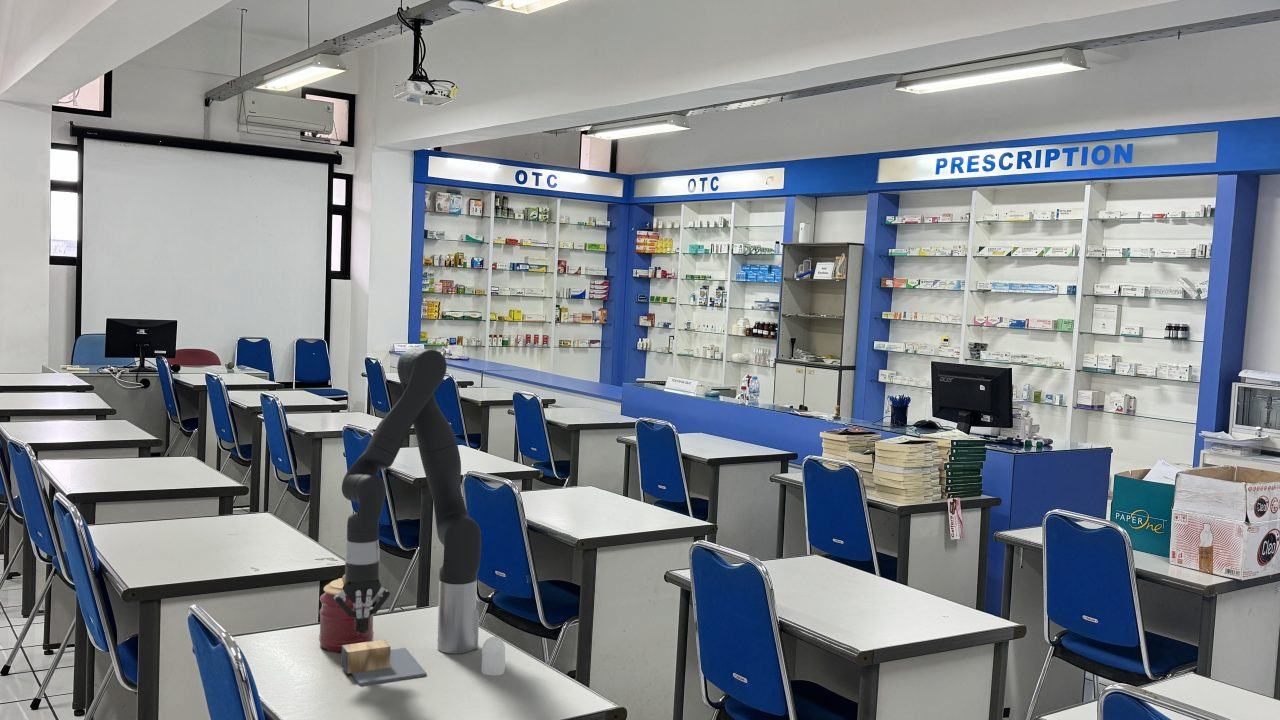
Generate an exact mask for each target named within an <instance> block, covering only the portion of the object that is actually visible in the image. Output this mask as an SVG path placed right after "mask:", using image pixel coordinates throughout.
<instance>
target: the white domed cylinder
mask: <svg viewBox="0 0 1280 720" xmlns="http://www.w3.org/2000/svg"><path fill="white" fill-rule="evenodd" d="M505 663H506V646H505V643H504V641H503V640H502V639H501V638H499V637H497V636H492V637H489V638H487V639H486V640H485V641H484V643H483V645H482V648H481V673H482V674H483V675H487V676H499V675H502V674H504V673H505V669H506V668H505V667H506V666H505V665H506V664H505Z"/></svg>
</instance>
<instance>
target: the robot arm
mask: <svg viewBox="0 0 1280 720" xmlns="http://www.w3.org/2000/svg"><path fill="white" fill-rule="evenodd" d="M396 369H397V376H398V379H399V382H400V385H401V387H402V391H403V394H402V396H401V397H400V398H399V399H398V401H397V402H396V403H395V404H394V405H393V407H392V408H391V409H390V410H389V411H388V413H386V414H385V416H384V417H382V419H381V421H380V422H379V423H378V425H377V427H376V428H375V430H374V432H373V434H372V435H371V437H370V439H369V441H368V444H367V445H366V448H365V450H364V451H363V452H362V453H361V455H360V456H359V457H358V458H357V459H356V461H355V462H354V463H353V464H352V465H351V467H350V468H349V469H348V470H347V472H346V474H345V475H344V477H343V480H342V483H341V493H342V495H343V496H344V498H345V499H346V500H348V501H351V502H354V503H357V504H358V508H357V511H356V512H354V513H352V514H350V515H349V516H348V518H347V523H346V524H347V525H346V544H345V545H346V546H345V559H344V560H345V564H344V565H345V568H344V569H345V570H344V573H345V584H344V586H343V590H342V591H341V592H340V593H339V594H335V595H334V599H335V600H336V602H337V603H338V604H339V605H340V606H341V607H342V609H343V610H344V611H345V612H346V613H347V614H348V615H349V616H350V617H355V630H356V631H357V632H358V633H359V634H363V633H366V631H367V630H368V623H369V616H370V615H372V614H373V615H376V614H377V612H378V611H379V610H380V609H381V607H382V606H383V605H384V603H385V602H386V601H387V600H388V598H389V596H390V594H391V592H390V591H389V590H388V589H387V588H384V587H382V584H381V581H380V557H381V554H380V543H379V542H380V541H379V537H380V534H379V533H380V531H379V529H380V525H379V521H380V519H381V516H382V512H383V508H384V505H385V501H386V496H387V495H386V494H387V489H386V488H387V487H386V484H385V481H384V480H383V478H382V477H381V476H379V475H377V474H378V473H379V471H381V470H384V469H388V468H391V466H393V463H394V462H395V460H396V458H397V456H398V453H399V452H400V449H401V447H402V446H403V443H404V442H405V439H406V437H407V436H408V434H409V432H410V430H411V428H412V426H413V429H414V433H415V436H416V442H417V445H418V451H419V455H420V459H421V465H422V468H423V471H424V475H425V479H426V481H427V484H428V485H427V486H428V488H429V490H430V495H431V498H432V503H433V510H434V517H435V525H436V527H435V528H436V532H437V538H438V540H439V542H440V543H441V544H442V546H443V560H442V561H443V563H442V566H441V567H440V568H439V571H438V574H439V575H438V576H439V577H438V579H439V580H438V608H437V609H438V612H437V613H438V615H437V617H438V618H437V640H436V641H437V649H438V650H439V651H440V652H443V653H447V654H464V653H468V652H471V651H473V650H477V649H478V648H479V625H480V622H479V620H480V612H479V611H480V610H478V609H477V599H478V597H477V595H478V593H477V592H478V589H477V588H478V572H479V570H480V565H481V555H482V554H481V553H482V531H481V528H480V525H479V524H478V523H477V522H476V521H475V520H474V519H473V518H471V517H470V515H469V513H468V511H467V508H466V504H465V501H464V498H463V494H462V487H461V483H462V482H461V479H462V478H461V477H462V460H461V459H462V458H461V453H460V451H459V445H458V441H457V438H456V435H455V432H454V430H453V428H452V426H451V425H450V422H449V421H448V419H447V418H446V417H445V415H444V414H443V412H442V410H441V409H440V407H439V404H438V402H437V399H436V397H435V392H436V391H437V389H438V388H439V386H440V385H441V383H442V382H443V379H444V378H445V376H446V373H447V360H446V358H445V356H444V355H443V354H442V352H440V351H439V350H436V349H432V348H412V349H407V350H405V351H404V352H403V353H402V354H401V355H400V357H398V361H397V367H396ZM345 595H347V596H348V597H349V599H350V600H351V601H352V602H353V606H354V610H352V609H350V608H349V606H348V605H347V604H346V603H345V602H344V601H345V600H346V598H345ZM376 596H377V597H376ZM375 597H376V598H375ZM373 598H374V599H375V600H374V599H373ZM373 600H374V601H373ZM371 601H372V605H371ZM361 603H362V604H361ZM361 608H362V611H361Z"/></svg>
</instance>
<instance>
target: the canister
mask: <svg viewBox="0 0 1280 720" xmlns="http://www.w3.org/2000/svg"><path fill="white" fill-rule="evenodd" d="M344 584H345V574H343V576H342V578H339V579H334V580H332V581H331V582H329V583H328V584H326V585H325V586H324V587H323V591H324V593H323V594H321V595H320V597H319V600H320V602H321V608H320V609H319V620H320V621H319V623H320V624H319V635H318V637H319V639H318V641H319V646H320V647H321V648H322V649H324V650H327V651H331V652H338V653H339V652H340V653H342V645H348V644H355V643H363V642H371V641H374V614H372V615H370V616H369V623H368V630H367V631H366V633H363V634H359V633H358V632H357V631H356V630H355V617H350V616H349V615H348V614H347V613H346V612H345V611H344V610H343V609H342V607H341V606H340V605H339V604H338V603H337V602H336V600H335V599H334V595H335V594H339V593H340V592H341V591H342V590H343V586H344ZM345 598H346V600H345V601H344V602H345V603H346V604H347V605H348V606H349V608H350V609H352V610H354V606H353V602H352V601H351V600H350V599H349V597H348V596H347V595H345ZM374 599H375V597H374V598H373V600H374ZM373 600H372V601H371V605H372V604H373ZM361 604H362V603H361ZM361 611H362V608H361Z"/></svg>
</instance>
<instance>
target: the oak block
mask: <svg viewBox="0 0 1280 720" xmlns="http://www.w3.org/2000/svg"><path fill="white" fill-rule="evenodd" d="M390 650H392V649H391V645H390V644H389V643H388V642H387V641H386V639H379V640H372V641H371V642H363V643H355V644H348V645H342V652H341V661H340V662H341V663H340V665H341V668H342V669H343V671H344V673H345V674H348V675H349V674H352V673H356V672H363V671H370V670H377V669H383V668H390Z"/></svg>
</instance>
